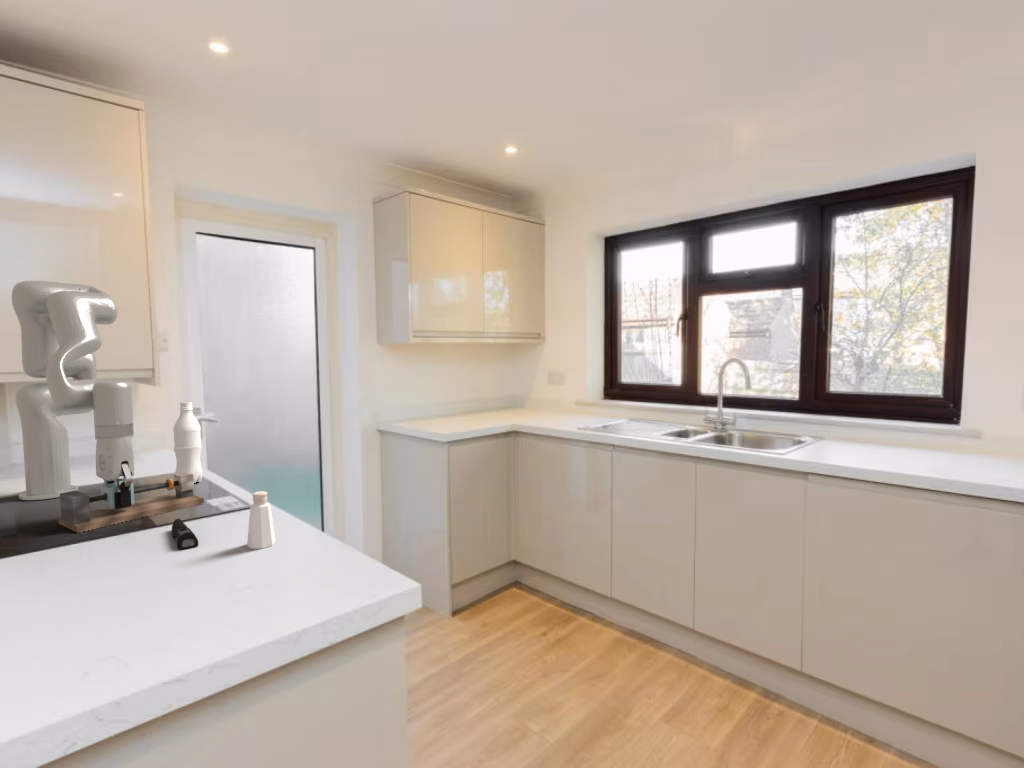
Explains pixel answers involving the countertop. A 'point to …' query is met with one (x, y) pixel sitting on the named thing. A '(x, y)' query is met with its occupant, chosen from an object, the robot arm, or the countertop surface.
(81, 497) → the linear slide rail
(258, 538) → the pepper shaker
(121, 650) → the countertop surface
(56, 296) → the robot arm
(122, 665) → the countertop surface
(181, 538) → the electric trimmer
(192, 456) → the water bottle
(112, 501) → the sleeve
